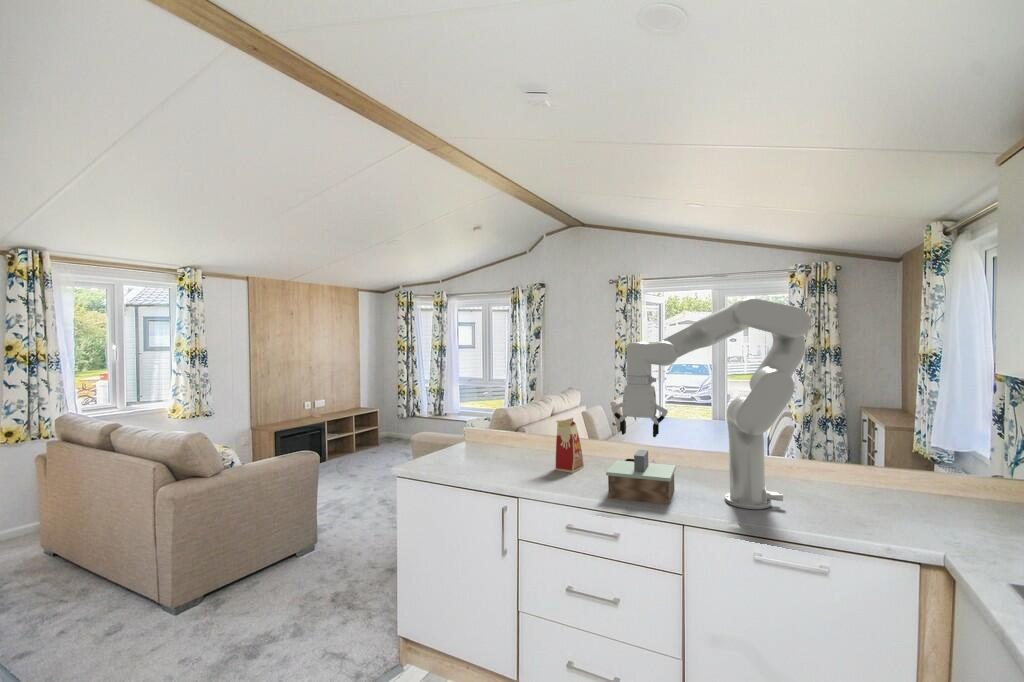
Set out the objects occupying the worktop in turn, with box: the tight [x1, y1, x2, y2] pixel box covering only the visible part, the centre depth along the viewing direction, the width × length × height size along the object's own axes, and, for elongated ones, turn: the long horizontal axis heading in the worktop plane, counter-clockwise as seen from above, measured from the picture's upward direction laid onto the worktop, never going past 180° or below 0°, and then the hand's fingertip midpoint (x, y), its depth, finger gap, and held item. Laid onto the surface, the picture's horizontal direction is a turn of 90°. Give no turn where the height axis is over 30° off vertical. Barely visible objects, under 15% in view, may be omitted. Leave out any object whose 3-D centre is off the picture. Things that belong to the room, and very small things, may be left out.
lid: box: [605, 449, 677, 482], centre depth 151 cm, size 19×15×7 cm
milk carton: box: [554, 417, 585, 474], centre depth 185 cm, size 9×9×20 cm
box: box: [607, 473, 675, 506], centre depth 151 cm, size 18×14×8 cm
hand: (639, 435), depth 151 cm, fingers open, 9 cm apart
